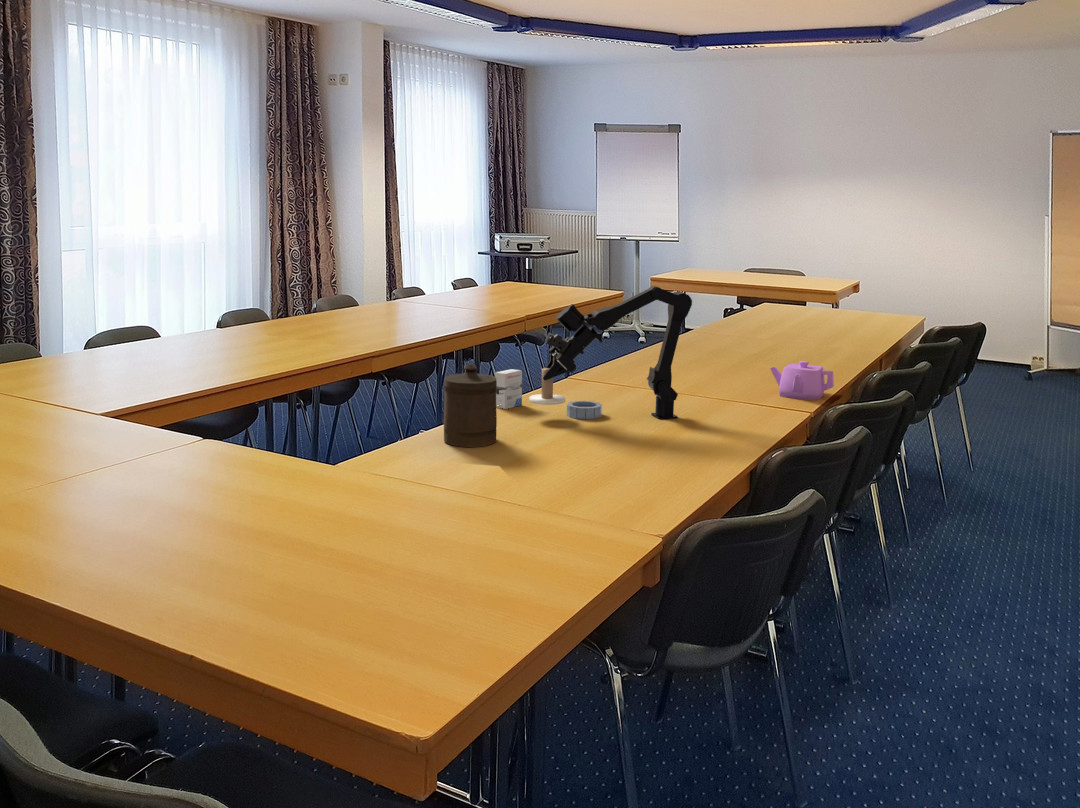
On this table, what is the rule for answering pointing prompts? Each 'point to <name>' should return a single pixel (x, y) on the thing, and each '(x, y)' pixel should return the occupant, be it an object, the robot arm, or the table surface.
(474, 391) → the wooden container
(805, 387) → the teakettle
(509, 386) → the ink box
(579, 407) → the bowl
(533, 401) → the lid
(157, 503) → the table surface
